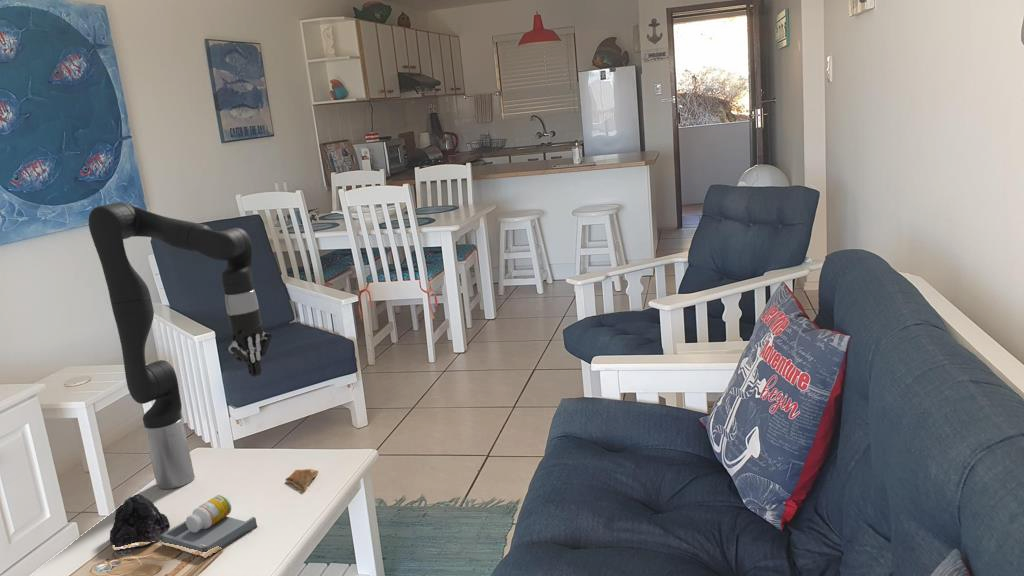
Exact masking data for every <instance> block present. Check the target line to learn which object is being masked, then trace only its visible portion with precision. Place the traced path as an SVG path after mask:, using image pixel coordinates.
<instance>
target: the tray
mask: <svg viewBox="0 0 1024 576" xmlns="http://www.w3.org/2000/svg"><path fill="white" fill-rule="evenodd" d="M256 528H258V523H257V519H256V517H255V516H252V517H250V518H249V519H247V520H241V519H237V518H234V517H229V516H228V515H227V516H226V517H224V518H223V519H221V520H220V521H218V522H217V523H215V524H214V525H212V526H211V527H209V528H207V529H201V530H199V531H198V532H191V531H190V530H189V529H188V528H187V526H186V520H185V521H183V522H181V523H179V524H177V525H175V526H173V527H172V528H171V529H170V528H169V530H168V531H167V532H165V533H163V534H161V535H160V536H161V539H160V540H161V543H162V542H164V543H169V544H174V545H179V546H183V547H186V548H189V549H194V550H198V551H201V552H207V551H208V550H210V549H212V548H214V547H216V546H219V547H221V548H222V549H221V550H224V548H226V547H227V546H229V545H230V544H232V543H233V542H234V543H235V541H237V540H238V539H240V538H242V537H244V536H245V535H246V534H248V533H250V532H251V531H253V530H254V529H256ZM200 544H204V545H206V546H203V545H200Z"/></svg>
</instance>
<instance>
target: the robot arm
mask: <svg viewBox="0 0 1024 576" xmlns="http://www.w3.org/2000/svg"><path fill="white" fill-rule="evenodd" d="M88 228H89V232H90V233H89V234H90V236H91V239H92V241H93V244H94V247H95V250H96V252H97V256H98V258H99V261H100V264H101V267H102V272H103V275H104V279H105V282H106V285H107V290H108V295H109V300H110V304H111V309H112V313H113V316H114V320H115V324H116V328H117V332H118V338H119V340H120V345H121V351H122V360H123V366H124V367H123V369H124V374H125V380H126V381H125V382H126V386H127V389H128V392H129V395H130V396H131V397H132V399H133V401H135V403H138V404H139V405H140V404H141V405H143V404H146V403H150V402H153V401H154V403H153V404H152V406H151V407H150V408H149V409H148V410H147V411H146V412H145V413H144V414H143V416H142V421H143V427H144V430H145V434H146V438H147V443H148V447H149V448H148V449H149V451H148V453H149V457H150V462H151V466H152V470H153V474H154V479H155V483H156V484H157V487H158V488H159V489H160V490H161V489H162V490H170V489H176V488H179V487H182V486H185V485H187V484H190V483H192V481H193V480H194V479H195V477H196V476H195V473H194V468H193V463H192V459H191V458H192V457H191V453H190V448H189V444H188V440H187V439H188V438H187V435H186V430H185V425H184V422H183V417H182V399H181V393H180V387H179V382H178V376H177V373H176V370H175V368H174V367H173V365H172V364H171V363H170V362H169V361H166V360H162V359H161V360H156V361H154V362H151V363H148V364H147V362H146V352H145V351H146V345H147V344H146V343H147V339H148V338H149V337H148V336H149V333H150V330H151V328H152V325H153V321H154V317H155V316H154V315H155V313H154V312H155V311H154V310H155V309H154V307H153V302H152V297H151V292H150V290H149V287H148V285H147V283H146V282H145V281H144V279H143V278H142V277H141V275H140V274H139V273H138V272H137V271H136V270H135V268H134V267H133V266H132V263H131V262H130V261H129V259H128V256H127V253H126V249H125V243H124V240H126V239H129V238H131V237H143V238H151V239H152V238H153V239H156V240H159V241H160V242H162V243H164V244H166V245H167V246H170V247H173V248H175V249H180V250H184V251H189V252H195V253H199V254H201V255H203V256H205V257H208V258H211V259H213V260H217V261H223V262H224V261H227V267H226V268H225V269H224V270H223V271H222V273H221V281H222V286H223V292H224V301H225V308H226V314H227V317H228V318H227V319H228V323H229V329H230V330H231V332H232V342H231V344H230V346H226V350H225V351H226V352H228V354H230V356H232V357H233V358H234V359H235V360H237V361H238V362H240V363H246V365H247V370H248V374H249V375H250V376H251V377H254V378H255V377H258V376H261V374H262V365H261V361H260V360H261V358H262V357H264V356H266V354H267V351H268V348H269V345H270V342H271V339H272V336H273V335H272V333H267V332H265V331H264V329H263V327H262V326H261V325H262V324H263V322H262V321H263V320H262V318H261V311H260V307H259V302H258V297H257V294H256V293H257V292H256V291H255V287H254V286H255V285H254V282H253V281H254V280H253V276H252V275H253V274H252V266H253V265H252V264H253V263H252V262H253V261H252V260H253V245H252V241H251V238H250V235H249V234H248V233H247V232H246V230H244V229H242V228H240V227H232V228H229V229H226V230H222V231H220V230H219V231H217V230H213V229H212V228H211V227H209V226H208V225H206V224H203V223H198V222H193V221H188V220H182V219H177V218H171V217H167V216H163V215H160V214H157V213H154V212H151V211H147V210H146V209H143V208H140V207H138V206H135V205H133V204H129V203H126V202H115V203H114V202H113V203H109V204H104V205H99V206H96V207H94V208H93V209H91V211H90V213H89V216H88Z"/></svg>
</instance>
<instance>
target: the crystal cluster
mask: <svg viewBox="0 0 1024 576" xmlns="http://www.w3.org/2000/svg"><path fill="white" fill-rule="evenodd" d="M170 524H171V523H170V522H169V519H168V516H167V515H166V514H164V513H161V511H160V510H159V509H158V507H157V506H155V504H154V503H153V501H151V500H150V499H148V498H147V497H145V496H144V495H142V494H139V493H138V494H134V495H133V496H130V497H128V498H127V499H126V500H124V502H123V503H122V504H121V505H119V506H118V507H117V508H116V509H115V514H114V522H113V526H112V528H111V529H110V531H109V543H110V544H112V545H115V547H121V546H124V545H128V544H131V543H135V542H152V541H157V542H159V541H160V540H161V536H160V535H161V534H163V533H165V532H167V531H168V530H170V527H171V525H170ZM112 545H111V546H112Z"/></svg>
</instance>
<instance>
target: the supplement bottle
mask: <svg viewBox="0 0 1024 576" xmlns="http://www.w3.org/2000/svg"><path fill="white" fill-rule="evenodd" d="M231 512H232V504H231V501H230V500H229V499H228V498H227V497H226V496H225V495H224V494H216V495H214V496H213V497H211V498H210V499H208V500H206V502H204V503H202V504H200V505H199V506H197V507H196V508H195V509H194V510H193V511H192V513H191V514H190V515H188V516H187V517H186V519H185V521H186V526H187V528H188V529H189V530H190V531H191V532H198V531H199V530H201V529H207V528H209V527H211V526H212V525H214V524H215V523H217V522H218V521H220V520H221V519H223V518H224V517H226V516H227V517H228V515H230V514H231Z"/></svg>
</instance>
